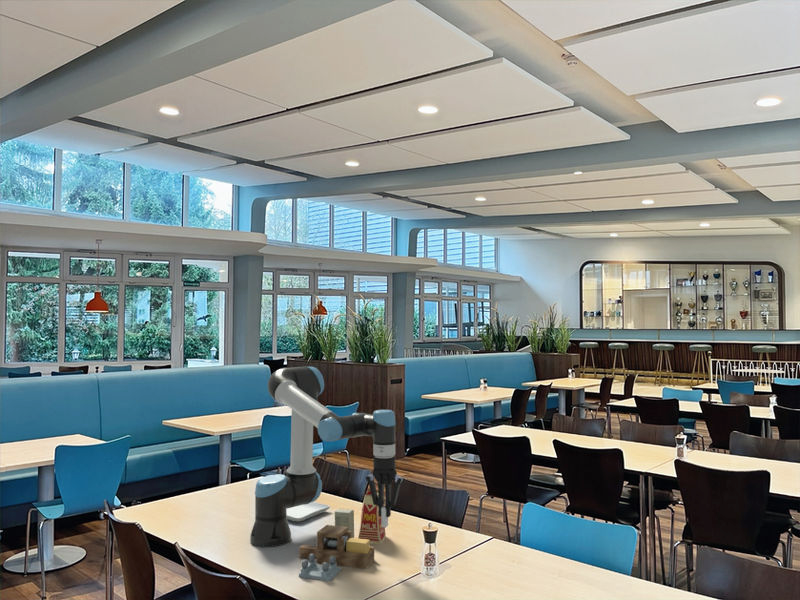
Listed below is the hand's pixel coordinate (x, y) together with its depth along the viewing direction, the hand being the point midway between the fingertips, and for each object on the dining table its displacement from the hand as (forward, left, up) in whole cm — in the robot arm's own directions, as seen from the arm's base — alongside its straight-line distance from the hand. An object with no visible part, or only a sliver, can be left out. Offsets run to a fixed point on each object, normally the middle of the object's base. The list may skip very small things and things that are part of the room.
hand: (384, 526), depth 215 cm
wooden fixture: (-18, 0, -13) cm, 23 cm away
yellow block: (-10, 0, -10) cm, 14 cm away
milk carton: (-13, +24, -14) cm, 31 cm away
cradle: (-18, -12, -13) cm, 26 cm away
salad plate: (-54, +43, -14) cm, 71 cm away
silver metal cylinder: (-19, 0, -10) cm, 21 cm away
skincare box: (-21, +16, -14) cm, 30 cm away
